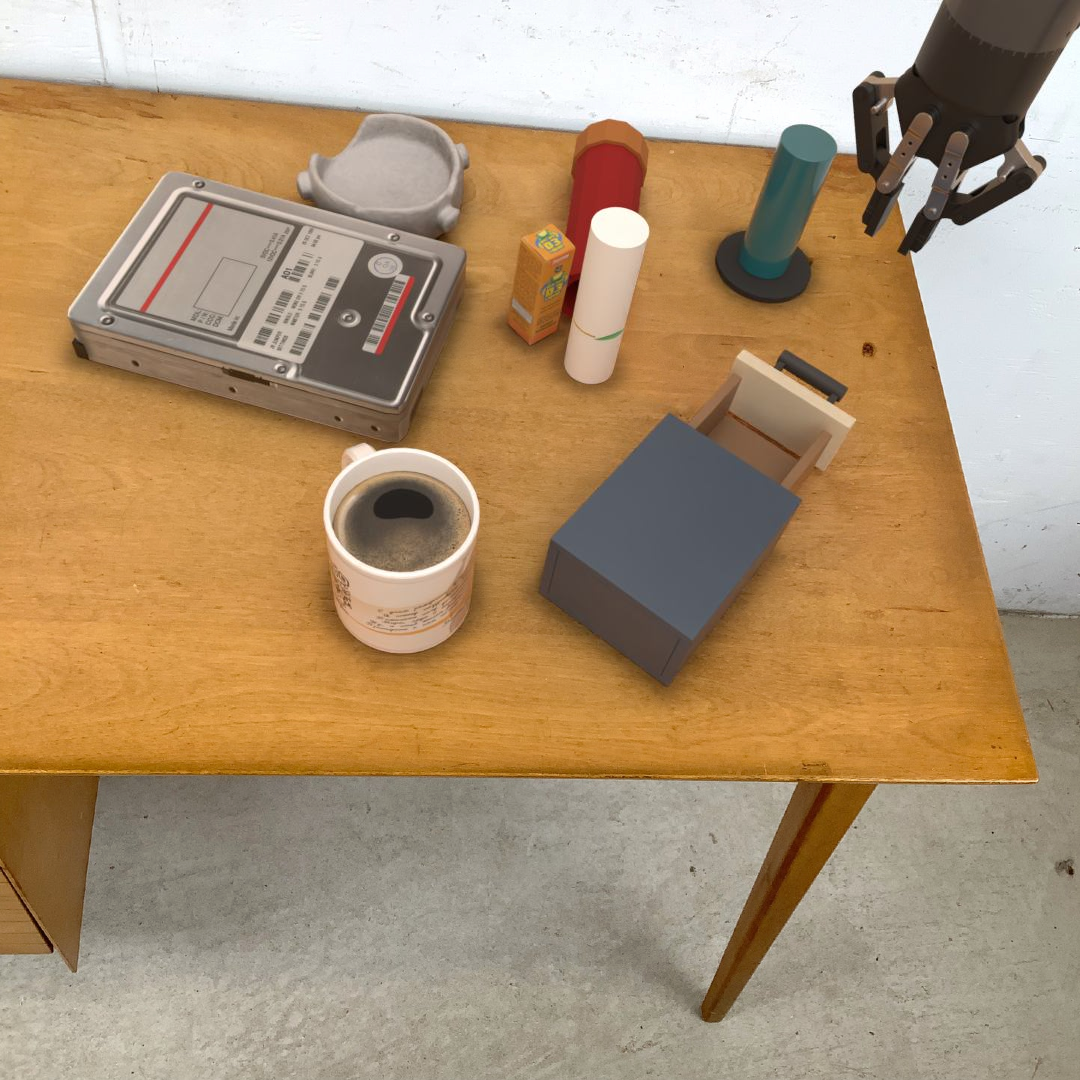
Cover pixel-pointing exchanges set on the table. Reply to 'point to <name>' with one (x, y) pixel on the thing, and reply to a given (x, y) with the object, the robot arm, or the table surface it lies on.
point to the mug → (401, 546)
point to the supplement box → (540, 283)
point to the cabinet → (665, 546)
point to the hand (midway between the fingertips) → (890, 238)
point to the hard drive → (273, 305)
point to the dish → (392, 176)
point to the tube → (605, 293)
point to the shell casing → (601, 185)
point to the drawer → (777, 417)
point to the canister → (786, 200)
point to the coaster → (757, 287)
